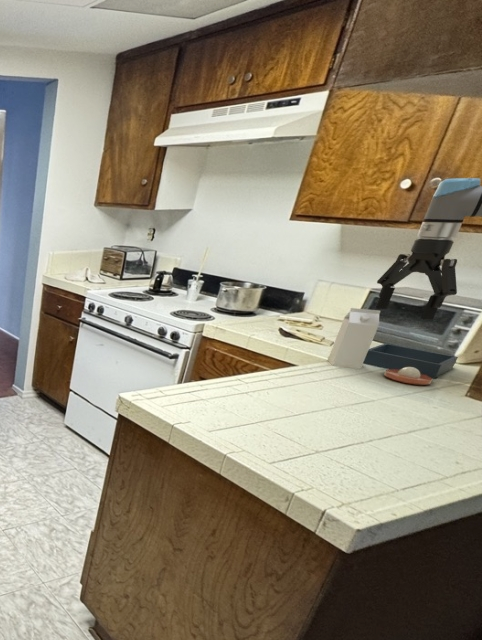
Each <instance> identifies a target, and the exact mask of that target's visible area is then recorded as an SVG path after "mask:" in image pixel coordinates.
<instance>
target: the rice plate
mask: <svg viewBox="0 0 482 640" xmlns="http://www.w3.org/2000/svg"><path fill="white" fill-rule="evenodd" d="M383 375H384V376H385V377H386V378H388V379H390V380H392V381H395V382H399V383H403V384H408V385H417V386H419V385H431V384H432V381H433V379H432V378H431V377H429V376H426V375H423V374H420V371H419V370H418V369H416V368H414V367H404V368H402V369H400V370H396V369H385V371H384V374H383Z"/></svg>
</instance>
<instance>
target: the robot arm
mask: <svg viewBox="0 0 482 640" xmlns="http://www.w3.org/2000/svg"><path fill="white" fill-rule="evenodd" d="M481 182H482V179H481V178H478V177H477V178H476V177H466V178H465V177H463V178H462V177H458V178H456V177H455V178H446V179H443V180H442V181H440V182H439V183H438V185H437V187H436V189H435V191H434V194H433V196H432V199H431V201H430V203H429V205H428V207H427V211H426V213H425V215H424V218H423V220H422V222H421V225H420V228H419V230H418V233H417V234H416V236H417V237H418V238H416V239H414V241H413V244H412V246H411V249H410V252H411V254H409V253H404V254H403V253H400V254H399V255H397V257H396V260H395V262H393V263H392V265H390V267H389V268H388V269H386V271H385V272H384V273H383V274H382V275H381V276H380V277H379V279H378V280H377V281H376V283H377V284H379V285H380V286H381V288H380V291H379V294H378V301H377V303H376V306H375V310H387V308H388V306H389V303H390V301H391V299H392V297H393V294H394V293H395V289H396V287H395V285H397V284H398V283H399V282H401V281H402V280H404V279H405V278H406V277H408V276H409V275H411V274H413V273H418V274H425V276H427V278H428V281H429V283H430V286H431V289H432V292H433V294H432V295H431V294H430V297H429V299H428V301H427V302H426V305H425V307H424V310H423V311H422V314H421V316H420V319H423V320H433V319H434V317H435V315H436V314H437V310H438V309H440V308H441V307H442V306H443V303H444V301H445V299H446V297H448V296H455V295H457V294H458V288H457V275H456V267H457V264H458V259H457V258H446V255H448V254H449V253H450V252H451V250H452V247H453V245H454V240H452V239H456V238H457V236H458V233H459V232H460V230H461V227H462V224H463V223H464V219H466V217H470V218H474V217H475V218H476V217H477V218H482V185H481Z"/></svg>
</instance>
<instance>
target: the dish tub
mask: <svg viewBox="0 0 482 640" xmlns="http://www.w3.org/2000/svg"><path fill="white" fill-rule="evenodd" d="M458 358H459V356H455V355H451V354H446V353H445V354H444V353H441V352H440V353H439V352H434V351H428V350H423V349H418V348H413V347H409V346H403V345H398V344H397V345H396V344H391V343H386V342H385V343H382V344H379V345H376V346H373V347H370V348H369V350H368V352H367V355H366V357H365V359H364V362H363V364H362V365H367V366H368V365H369V366H373V367H377V368H382V369H385V370H389V369H396V370H400V369H402V368H404V367H414V368H416V369H418V370H419V371H420V374H423V375H426V376H429V377H431V378H432V380H436V379H438V378H439V376H441V375H443V374H445V373H446V372H448V371H450V370H452V369H453V368H454V366H455V364H456V362H457V360H458Z"/></svg>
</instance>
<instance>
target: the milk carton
mask: <svg viewBox="0 0 482 640" xmlns="http://www.w3.org/2000/svg"><path fill="white" fill-rule="evenodd" d="M380 314H381V310H379V309H367V308H357V307H356V308H354V307H351V308H350V310H349V312H348V313H346V315H345V316H344V317H343V319H342V322H341V324H340V327H339V329H338V332H337V335H336V338H335V340H334V342H333V345H332V348H331V350H330V353H329V355H328V358H327V361H328V362H329V363H330V364H331V365H332V366H335V367H343V368H350V369H356V370H361V369H362V367H363V365H364V364H363V362H364V359H365V357H366V355H367V352H368V350H369V349H370V348H371V345H372V342H373V340H374V339H375V336H376V333H377V331H378V329H379V326H380Z"/></svg>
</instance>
